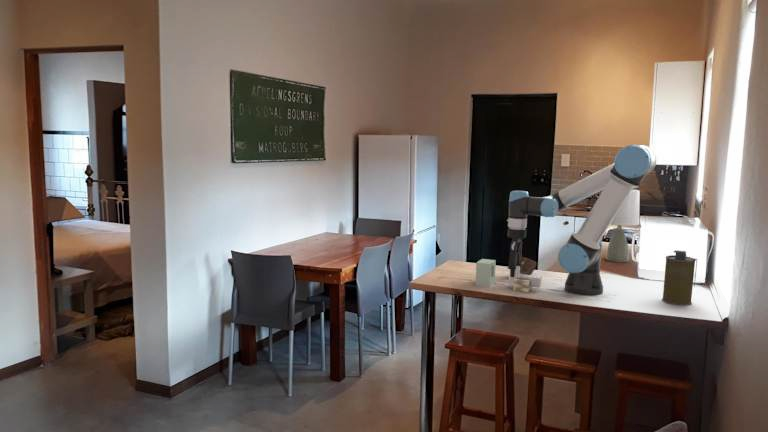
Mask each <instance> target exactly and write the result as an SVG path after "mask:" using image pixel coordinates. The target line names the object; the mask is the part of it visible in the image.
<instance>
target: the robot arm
mask: <svg viewBox="0 0 768 432" xmlns="http://www.w3.org/2000/svg"><path fill="white" fill-rule="evenodd" d="M657 160H658V159H657V155H656V152H655V150H653V149H652V148H651V147H650V146H648V145H643V144H635V143H634V144H629V145H626V146H624V147H622V148H621V149H620V150H619V151H618V152H617V153H616V155H615V157H614V163H612V164H609V165H608V166H606V167H603V168H601V169H600V170H598V171H596V172H594V173H592V174H590V175H588V176H586V177H584V178H582V179H581V180H579V181H576V182H574V183H572V184H570V185H568V186H567V187H566V186H565V187H564V188H562V189H560V190H557V191H556V192H555V193H552V194H550V195H548V196H543V197H539V196H538V197H537V196H530V195H529V192H528V191H525V190H512V191H510V192H509V199H508V217H507V218H508V219H506V222H508V223H507V227H508V228H507V234H506V235H507V238H510V239H512V240H511V242H510V245H509V259H508V263H509V266H507V270H509V275H508V276H509V277H508V278H509V279H508V284H509V285H513V286H514V279H516V273H517V274H520V266H522V264H520V263H521V256H523V255H522V250H523V239H526V237H527V229H526V228H528V227H527V226H528V225H527V224H528V216H536V217H544V218H555V217H556V215H558V213H559V212H561V211H562V210H564V209H566V208H569V207H570V206H572V205H575V204H577V203H579V202H580V201H583V200H584V199H587V198H588V197H592V196H594V195H595V194H597V193H599V192H601V193H600V194H599V196H598V198H597V199H596V201H595V203H594V205H592V208H591V210H590V211H589V213H588V215H587V217H586V218H585V219H584V221H583V223H582V225H580V226H581V227H580V228H579V229H578V231H574V232H573V231H572V233H571V235H570V237H569V238H568V240H567V242H566V243H565V244H564V245H563V246H561V248H560V249H559V251H558V254H557V260H558V263H559V265H560V267H561V268H562V269H563V270H564V271H566V272H568V274H567V277H566V280H565V282H564V290H565V291H567V292H570V293H573V294H578V295H586V296H591V295H592V296H593V295H595V296H597V295H601V294H603V292H604V285H603V281H602V277H601V275H600V274H601V273H600V272H601V260H602V249H603V239H602V238H603V236H604V235H605V233H606V231H607V230H608V228H610V227H609V226H610V224H611V222H612V220H613V219H614V217H615V216H616V214H617V212H618V211H619V209H620V207H621V206H622V204H623V203H624V201H625V199H626V198H627V196H628V195H629V193H630V191H631V190H632V189H633V190H634V189H636V188H639V187H640V185H641V183H642V182H643V180H644V179H645V177H646V175H647V174H648V175H649V173H651V172H652V171H653V170H654V169H655V167H656V165H657Z"/></svg>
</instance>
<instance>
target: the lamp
mask: <svg viewBox="0 0 768 432" xmlns="http://www.w3.org/2000/svg"><path fill="white" fill-rule="evenodd" d="M640 202H641V201H640V190H638V189H634V188H633V189H632V190H631V191H630V193H629V195H628V196H627V198H626V199H625V201H624V203H623V204H622V206H621V207H620V209H619V211H618V212H617V214H616V216H615V217H614V219H613V220H612V222H611V224H610V225H612V226H616V227H613V233H612V235H611V237H610V239H609V242H608V246H607V249H606V254H605V255H606V256H605V260H607V261H609V262H614V263H615V262H616V263H627V262H629V260H630V259H629V255H630V254H629V243H628V241H627V240H628V239H627V237H626V234H625V232H626V228H623V226H624V227H635V226H636V227H637V226H640ZM610 225H609V226H610Z"/></svg>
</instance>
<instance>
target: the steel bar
mask: <svg viewBox="0 0 768 432" xmlns="http://www.w3.org/2000/svg"><path fill="white" fill-rule="evenodd" d="M542 278H543V277H542V276H541V275H534V274H531V275H525V274H517V273H516V279H521V280H529V287H532V288H537V289H541V286H542V281H543V280H542Z"/></svg>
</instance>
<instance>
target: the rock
mask: <svg viewBox="0 0 768 432" xmlns="http://www.w3.org/2000/svg"><path fill="white" fill-rule="evenodd" d="M520 264H522V266H520V274H525V275H533V272H534V271H535V269H536V267H537V264H538V262H536V261H535V260H533V259H531V258H527V257H525V256H523V255H521V263H520ZM507 265H508V266H507V267H509V262H508V264H507Z"/></svg>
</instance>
